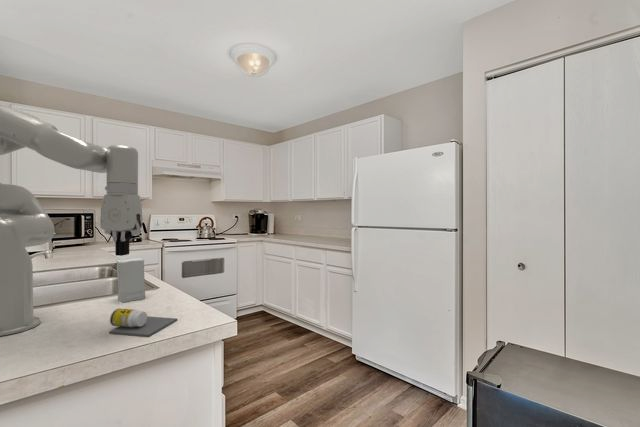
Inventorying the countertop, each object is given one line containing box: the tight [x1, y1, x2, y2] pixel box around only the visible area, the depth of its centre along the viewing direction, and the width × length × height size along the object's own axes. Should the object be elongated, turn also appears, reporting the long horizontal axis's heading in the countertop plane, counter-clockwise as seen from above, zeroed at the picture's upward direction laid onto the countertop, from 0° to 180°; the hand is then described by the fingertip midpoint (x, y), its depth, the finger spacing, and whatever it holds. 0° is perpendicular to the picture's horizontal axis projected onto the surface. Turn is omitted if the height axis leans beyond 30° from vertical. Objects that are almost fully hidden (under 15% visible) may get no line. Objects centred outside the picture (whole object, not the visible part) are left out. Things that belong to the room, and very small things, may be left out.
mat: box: [108, 315, 178, 338], centre depth 88 cm, size 12×12×1 cm
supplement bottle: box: [109, 308, 148, 327], centre depth 87 cm, size 5×5×8 cm
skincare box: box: [116, 257, 146, 303], centre depth 114 cm, size 8×6×15 cm
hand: (122, 254), depth 88 cm, fingers closed
